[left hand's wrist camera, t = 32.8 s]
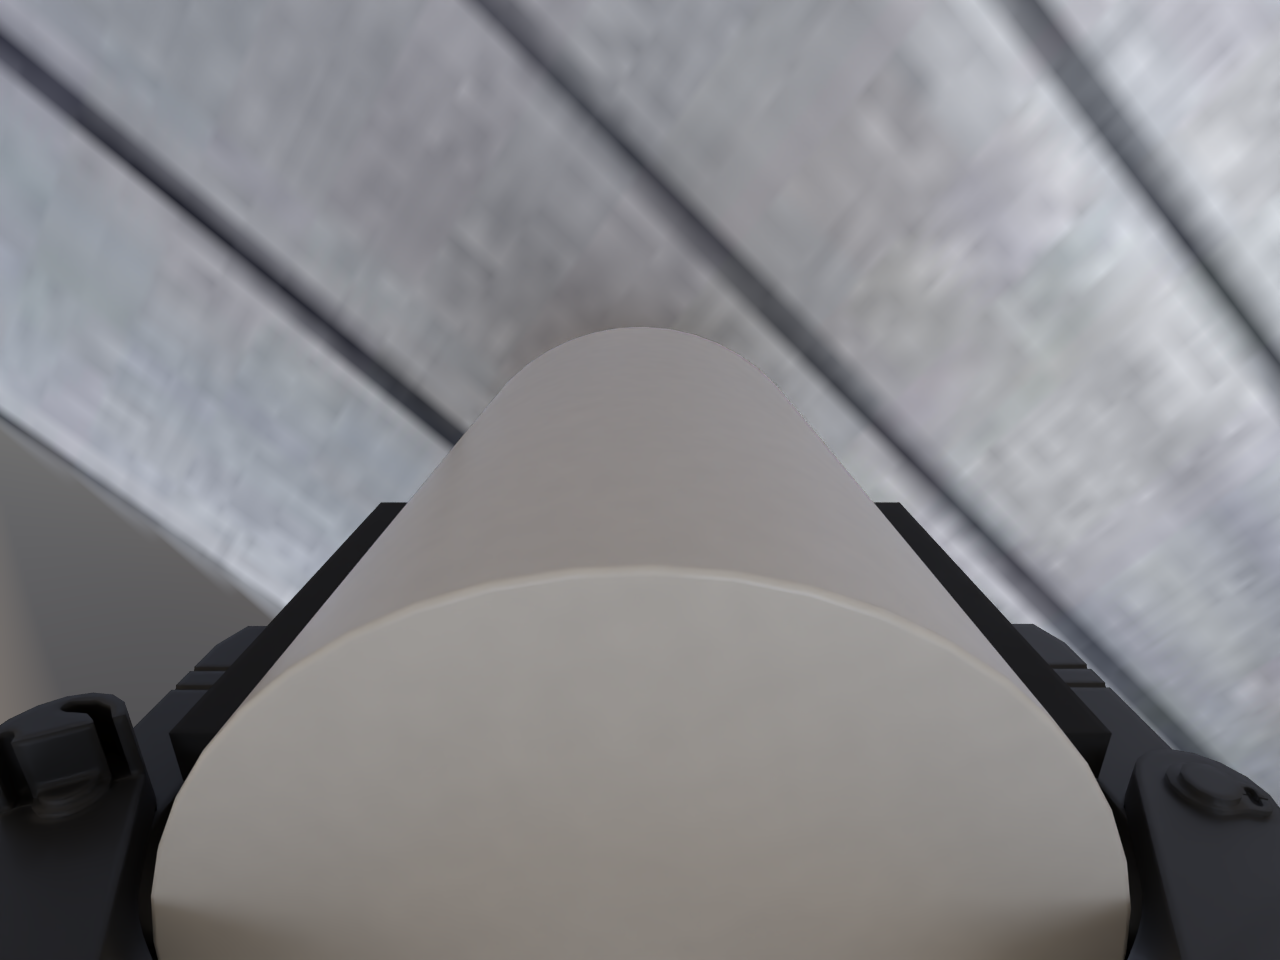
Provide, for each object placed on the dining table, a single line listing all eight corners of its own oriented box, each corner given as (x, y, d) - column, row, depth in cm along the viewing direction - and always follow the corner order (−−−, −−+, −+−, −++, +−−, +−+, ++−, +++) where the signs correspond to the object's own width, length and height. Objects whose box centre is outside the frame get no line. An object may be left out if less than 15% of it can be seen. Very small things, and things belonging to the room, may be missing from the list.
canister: (579, 700, 19) (501, 1314, 8) (392, 439, 16) (-81, 855, 6) (871, 565, 18) (1233, 1106, 7) (718, 252, 15) (924, 336, 4)
